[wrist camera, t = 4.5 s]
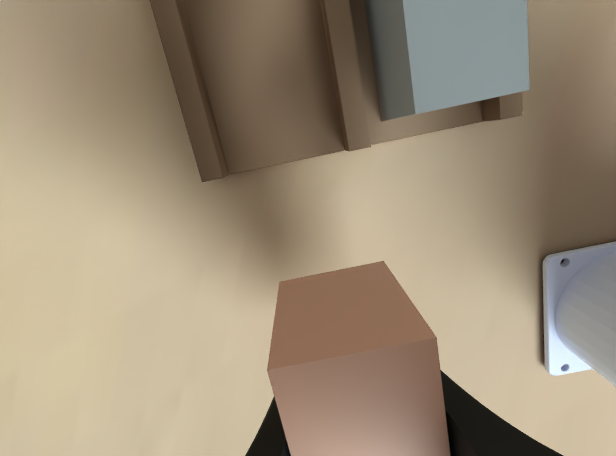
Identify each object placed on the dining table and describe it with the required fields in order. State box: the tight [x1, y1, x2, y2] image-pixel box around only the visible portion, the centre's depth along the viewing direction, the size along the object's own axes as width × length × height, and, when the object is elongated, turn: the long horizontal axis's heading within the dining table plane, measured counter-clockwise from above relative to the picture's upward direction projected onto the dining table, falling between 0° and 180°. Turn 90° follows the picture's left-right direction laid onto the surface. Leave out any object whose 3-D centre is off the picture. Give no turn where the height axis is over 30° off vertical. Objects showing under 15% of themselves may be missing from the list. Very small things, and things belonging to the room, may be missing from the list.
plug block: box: [267, 261, 450, 456], centre depth 11 cm, size 4×8×5 cm, turn 12°
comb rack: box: [150, 0, 522, 182], centre depth 15 cm, size 15×10×2 cm, turn 102°
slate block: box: [364, 0, 530, 122], centre depth 13 cm, size 4×8×5 cm, turn 12°
